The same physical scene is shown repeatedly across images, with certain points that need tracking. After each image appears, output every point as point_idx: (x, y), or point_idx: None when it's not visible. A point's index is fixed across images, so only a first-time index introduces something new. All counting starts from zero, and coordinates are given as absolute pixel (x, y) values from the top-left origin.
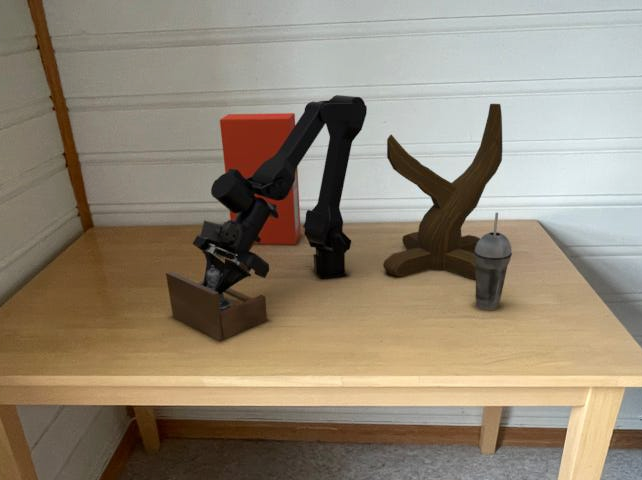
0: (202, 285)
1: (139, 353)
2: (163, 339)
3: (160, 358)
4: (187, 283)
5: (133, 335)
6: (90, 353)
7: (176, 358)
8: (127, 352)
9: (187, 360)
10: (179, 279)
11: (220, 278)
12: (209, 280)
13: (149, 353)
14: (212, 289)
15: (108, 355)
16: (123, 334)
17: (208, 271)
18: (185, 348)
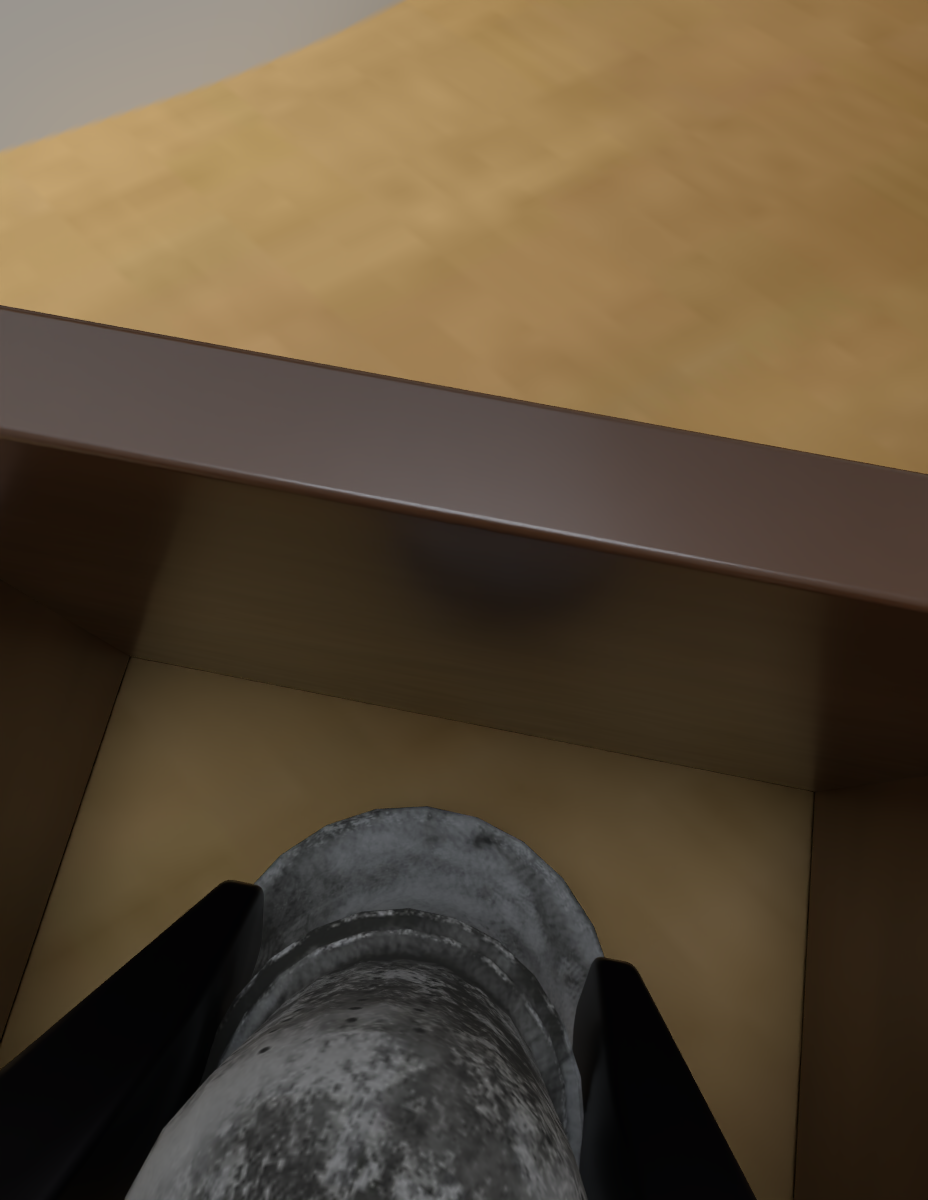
0: (123, 451)
1: (553, 176)
2: (574, 392)
3: (360, 195)
4: (575, 420)
5: (839, 326)
6: (838, 42)
7: (252, 244)
8: (639, 149)
9: (154, 260)
10: (907, 471)
11: (29, 1182)
12: (368, 985)
13: (489, 205)
14: (315, 936)
15: (713, 74)
16: (919, 301)
17: (429, 1149)
18: None
